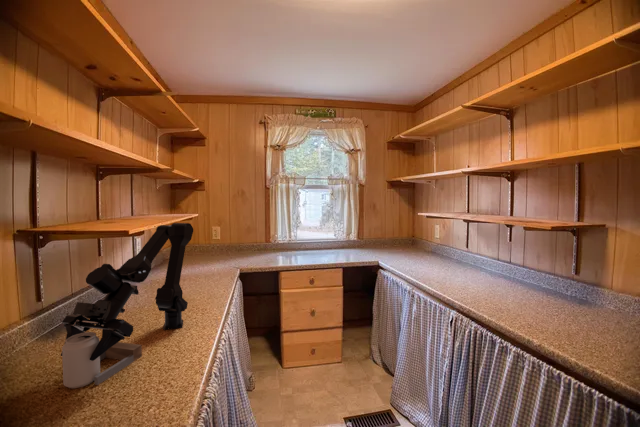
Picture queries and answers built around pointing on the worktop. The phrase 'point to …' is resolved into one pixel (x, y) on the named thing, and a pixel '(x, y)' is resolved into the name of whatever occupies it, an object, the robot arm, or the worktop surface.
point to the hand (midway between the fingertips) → (76, 358)
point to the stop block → (124, 351)
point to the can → (80, 360)
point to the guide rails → (112, 368)
